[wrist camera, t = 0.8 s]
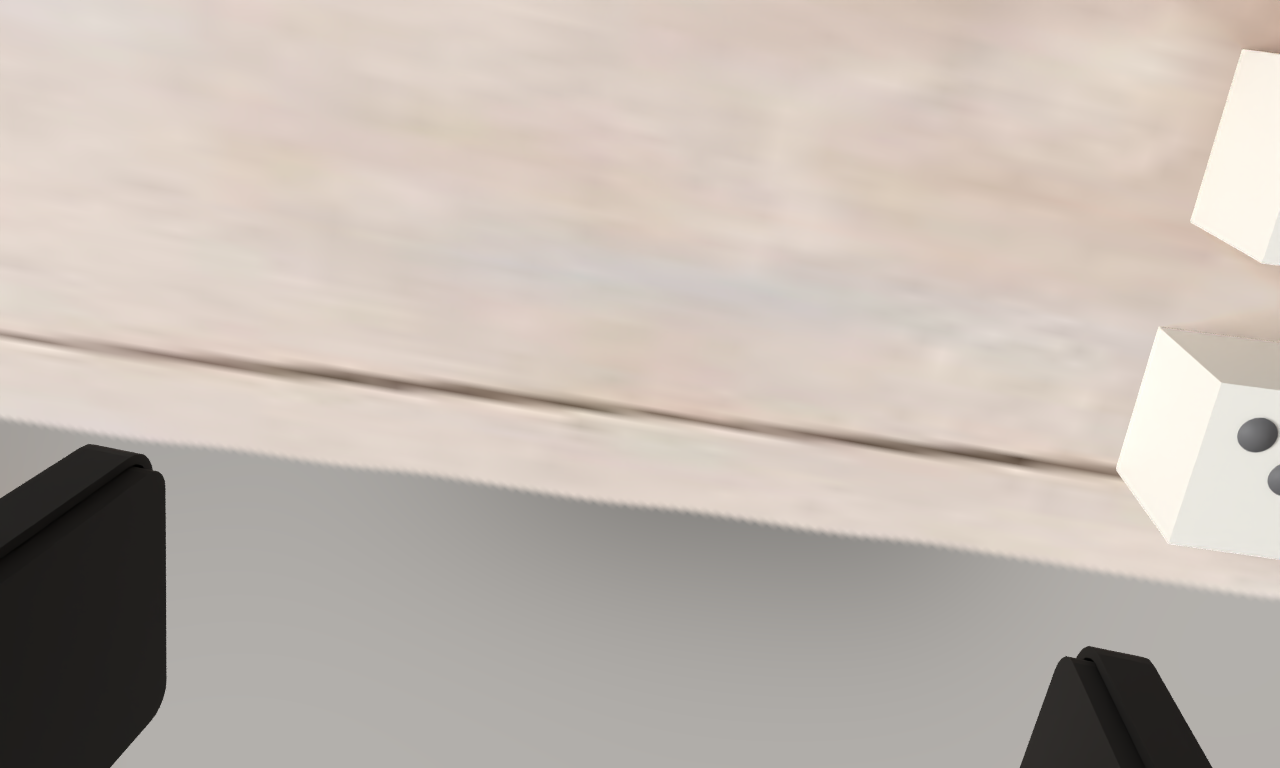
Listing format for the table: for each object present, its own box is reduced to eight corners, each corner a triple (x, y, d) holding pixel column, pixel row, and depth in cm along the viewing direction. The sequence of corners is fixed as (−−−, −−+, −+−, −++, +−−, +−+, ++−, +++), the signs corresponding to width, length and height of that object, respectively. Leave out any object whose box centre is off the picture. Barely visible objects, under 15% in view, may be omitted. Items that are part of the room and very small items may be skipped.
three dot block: (1157, 326, 39) (1222, 383, 34) (1325, 347, 39) (1419, 410, 33) (1115, 468, 42) (1169, 545, 36) (1273, 490, 41) (1353, 571, 35)
